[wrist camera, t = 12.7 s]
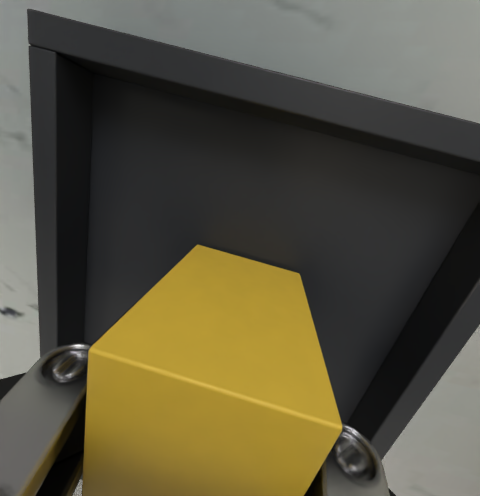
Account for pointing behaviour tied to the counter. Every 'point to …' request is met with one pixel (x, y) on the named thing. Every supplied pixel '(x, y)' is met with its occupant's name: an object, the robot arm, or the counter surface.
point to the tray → (255, 204)
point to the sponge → (210, 387)
